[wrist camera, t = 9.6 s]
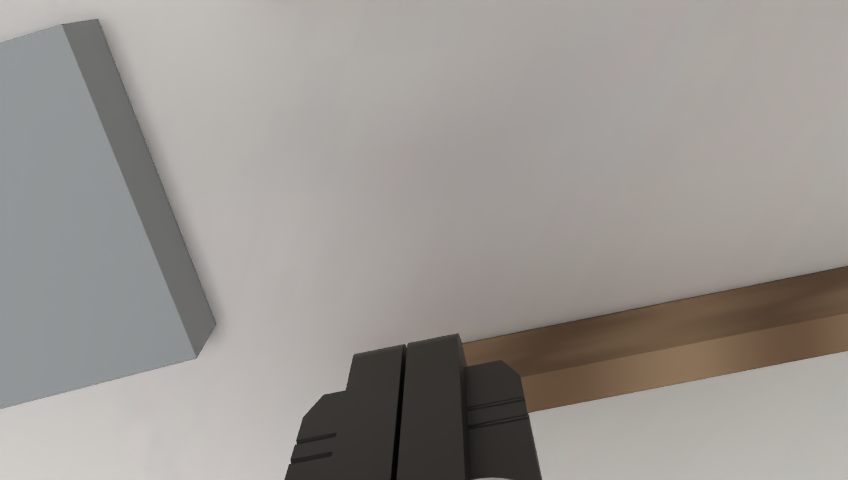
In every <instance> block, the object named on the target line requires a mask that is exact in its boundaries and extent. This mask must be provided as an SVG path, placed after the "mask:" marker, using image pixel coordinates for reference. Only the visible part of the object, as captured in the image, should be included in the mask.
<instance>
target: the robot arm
mask: <svg viewBox="0 0 848 480" xmlns="http://www.w3.org/2000/svg"><path fill="white" fill-rule="evenodd" d="M296 441H297V445H295V446H294V450H293V453H292V456H291V464H289V467H288V470H287V473H286V477H285V480H542V476H541V471H540V467H539V462H538V457H537V453H536V448H535V443H534V438H533V434H532V429H531V424H530V420H529V415H528V410H527V406H526V401H525V396H524V391H523V387H522V382H521V377H520V375H519V374H518V373H517V372H516V371H514V370H513V369H512V368H511V367H510V366H508V365H507V364H506V363H505V362H503V361H502V360H498V361H493V362H488V363H482V364H477V365H472V366H467V363H466V359H465V354H464V350H463V346H462V342H461V339H460V336H459V334H458V333H457V334H452V335H447V336H442V337H437V338H432V339H427V340H422V341H417V342H412V343H408V345H407V347H406V345H405V344H403V345H398V346H393V347H388V348H383V349H378V350H373V351H368V352H363V353H358V354H354V356H353V360H352V364H351V369H350V373H349V378H348V383H347V387H346V391H341V392H336V393H331V394H326V395H323V396H322V397H321V398H320V399H319V400H318V402H317V403H316V404H315V405H314V406H313V407H312V408H311V409H310V410H309V411H308V413H307V414H306V415H305V416H304V417H303V420H302V423H301V426H300V430H299V433H298V436H297V440H296Z"/></svg>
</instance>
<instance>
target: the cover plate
mask: <svg viewBox="0 0 848 480" xmlns="http://www.w3.org/2000/svg"><path fill="white" fill-rule="evenodd" d="M215 325H216V322H215V320H214V317H213V315H212V312H211V309H210V307H209V304H208V302H207V299H206V297H205V294H204V291H203V289H202V286H201V284H200V281H199V278H198V276H197V273H196V271H195V268H194V266H193V263H192V260H191V258H190V255H189V253H188V250H187V248H186V245H185V242H184V240H183V237H182V235H181V232H180V230H179V227H178V224H177V222H176V219H175V217H174V214H173V211H172V209H171V206H170V204H169V201H168V199H167V196H166V193H165V191H164V188H163V186H162V183H161V181H160V178H159V175H158V173H157V170H156V168H155V165H154V163H153V160H152V157H151V155H150V152H149V150H148V147H147V144H146V142H145V139H144V137H143V134H142V132H141V129H140V126H139V124H138V121H137V119H136V116H135V114H134V111H133V108H132V106H131V103H130V101H129V98H128V96H127V93H126V90H125V88H124V85H123V83H122V80H121V77H120V75H119V72H118V70H117V67H116V65H115V62H114V59H113V57H112V54H111V52H110V49H109V47H108V44H107V41H106V39H105V36H104V34H103V31H102V29H101V26H100V23H99V21H98V19H95V20H88V21H81V22H75V23H68V24H62V25H58V26H55V27H51V28H48V29H45V30H41V31H38V32H35V33H31V34H28V35H24V36H21V37H18V38H14V39H11V40H8V41H4V42H1V43H0V409H3V408H6V407H10V406H14V405H18V404H22V403H26V402H30V401H33V400H37V399H41V398H45V397H49V396H53V395H57V394H61V393H64V392H68V391H72V390H76V389H80V388H84V387H88V386H91V385H95V384H99V383H103V382H107V381H111V380H115V379H119V378H122V377H126V376H130V375H134V374H138V373H142V372H146V371H149V370H153V369H157V368H161V367H165V366H169V365H173V364H176V363H180V362H184V361H188V360H192V359H196V358H197V357H198V355H199V353H200V352H201V350H202V348H203V346H204V345H205V343H206V341H207V339H208V338H209V336H210V334H211V332H212V330H213V329H214V327H215Z"/></svg>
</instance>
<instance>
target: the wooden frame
mask: <svg viewBox="0 0 848 480" xmlns="http://www.w3.org/2000/svg"><path fill="white" fill-rule="evenodd" d="M462 346H463V350H464V354H465V359H466V363H467V366H472V365H477V364H482V363H488V362H493V361H498V360H502V361H503V362H505V363H506V364H507V365H508V366H510V367H511V368H512V369H513V370H514V371H516V372H517V373H518V374H519V375H520V377H521V382H522V387H523V391H524V396H525V401H526V406H527V410H528V413H530V412H535V411H540V410H545V409H550V408H555V407H561V406H566V405H571V404H576V403H581V402H586V401H591V400H597V399H602V398H607V397H612V396H617V395H622V394H627V393H633V392H638V391H643V390H648V389H653V388H658V387H663V386H669V385H674V384H679V383H684V382H689V381H694V380H700V379H705V378H710V377H715V376H720V375H725V374H730V373H736V372H741V371H746V370H751V369H756V368H761V367H766V366H772V365H777V364H782V363H787V362H792V361H797V360H803V359H808V358H813V357H818V356H823V355H828V354H833V353H839V352H844V351H848V267H843V268H838V269H833V270H828V271H823V272H818V273H813V274H808V275H803V276H798V277H793V278H788V279H783V280H778V281H773V282H768V283H763V284H758V285H753V286H748V287H743V288H738V289H733V290H728V291H723V292H718V293H713V294H708V295H703V296H698V297H693V298H688V299H683V300H678V301H673V302H669V303H664V304H659V305H654V306H649V307H644V308H639V309H634V310H629V311H624V312H619V313H614V314H609V315H604V316H599V317H594V318H589V319H584V320H579V321H574V322H569V323H564V324H559V325H554V326H549V327H544V328H539V329H534V330H529V331H524V332H519V333H514V334H509V335H504V336H499V337H494V338H489V339H484V340H479V341H474V342H469V343H464V344H462Z"/></svg>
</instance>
